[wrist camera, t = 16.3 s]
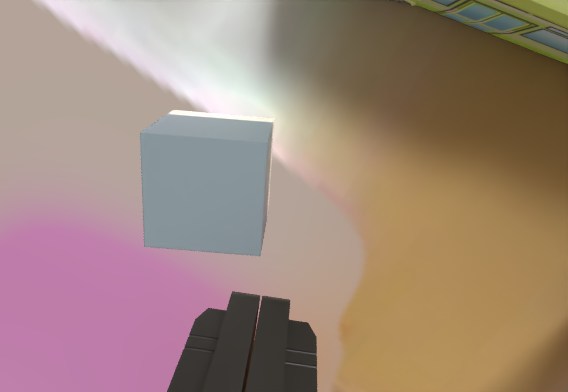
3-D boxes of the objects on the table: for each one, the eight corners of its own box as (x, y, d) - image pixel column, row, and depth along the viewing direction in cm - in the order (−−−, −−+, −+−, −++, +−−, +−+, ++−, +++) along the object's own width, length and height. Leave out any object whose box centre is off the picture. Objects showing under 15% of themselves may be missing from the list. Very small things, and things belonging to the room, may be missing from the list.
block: (140, 132, 25) (173, 109, 32) (144, 246, 28) (174, 203, 34) (267, 142, 25) (274, 118, 32) (260, 256, 28) (268, 211, 34)
